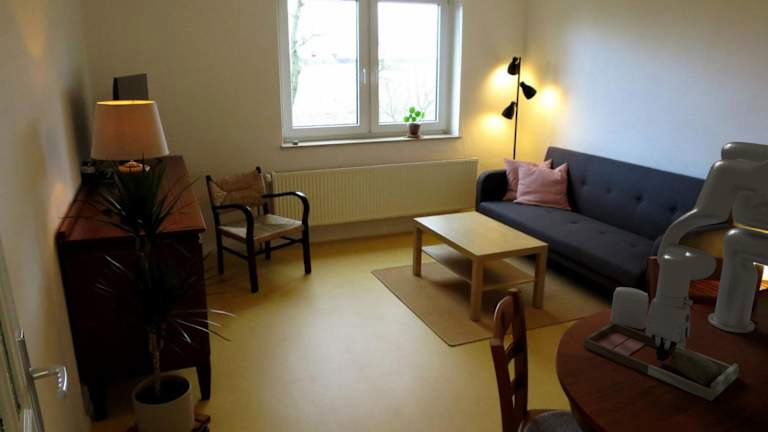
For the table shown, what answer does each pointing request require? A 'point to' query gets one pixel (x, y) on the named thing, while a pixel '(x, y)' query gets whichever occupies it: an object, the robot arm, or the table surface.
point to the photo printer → (629, 307)
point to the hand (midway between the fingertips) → (662, 359)
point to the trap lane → (631, 345)
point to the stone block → (695, 366)
